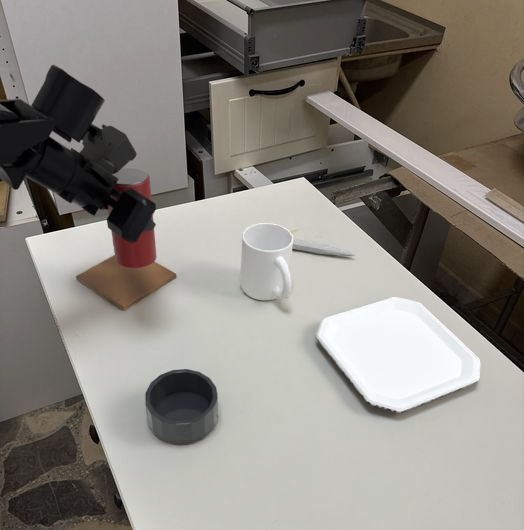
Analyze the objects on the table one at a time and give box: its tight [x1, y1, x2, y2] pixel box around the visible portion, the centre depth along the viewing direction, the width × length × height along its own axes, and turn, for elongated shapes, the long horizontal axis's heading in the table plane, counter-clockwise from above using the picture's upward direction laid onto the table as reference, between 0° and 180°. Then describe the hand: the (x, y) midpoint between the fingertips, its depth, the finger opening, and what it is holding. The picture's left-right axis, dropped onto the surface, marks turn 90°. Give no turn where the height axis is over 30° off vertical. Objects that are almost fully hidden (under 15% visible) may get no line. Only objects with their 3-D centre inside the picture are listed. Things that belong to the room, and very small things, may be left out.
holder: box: [144, 368, 219, 446], centre depth 69 cm, size 9×9×4 cm
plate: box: [315, 296, 482, 414], centre depth 81 cm, size 21×21×2 cm
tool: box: [292, 238, 356, 257], centre depth 99 cm, size 17×2×2 cm, turn 77°
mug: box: [240, 222, 294, 301], centre depth 87 cm, size 12×8×10 cm
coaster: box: [75, 254, 177, 311], centre depth 91 cm, size 12×12×1 cm
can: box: [107, 167, 158, 268], centre depth 79 cm, size 6×6×13 cm
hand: (140, 217), depth 80 cm, fingers closed on can, 6 cm apart
